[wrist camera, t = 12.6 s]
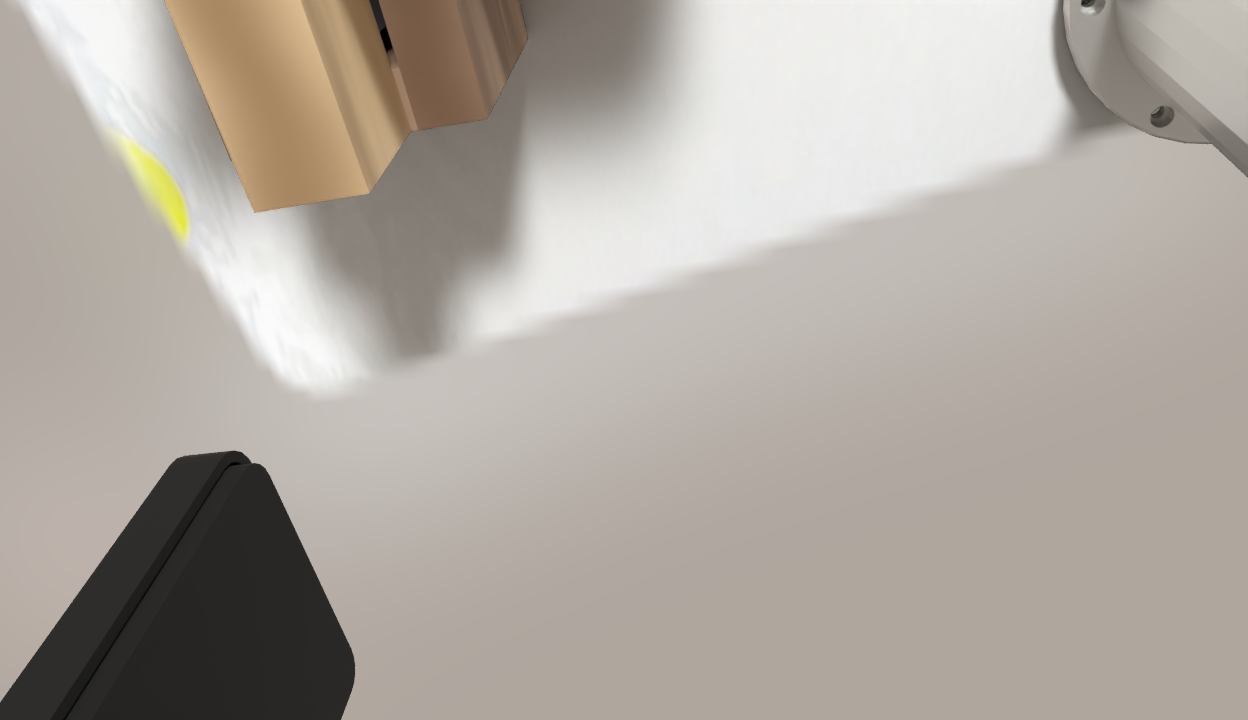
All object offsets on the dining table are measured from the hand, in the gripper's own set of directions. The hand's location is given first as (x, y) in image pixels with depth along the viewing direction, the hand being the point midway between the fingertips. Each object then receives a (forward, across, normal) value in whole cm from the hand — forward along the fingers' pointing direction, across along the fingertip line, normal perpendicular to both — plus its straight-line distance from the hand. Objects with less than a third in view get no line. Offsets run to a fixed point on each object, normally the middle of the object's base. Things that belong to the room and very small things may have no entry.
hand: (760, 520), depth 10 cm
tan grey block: (+30, +13, -2) cm, 33 cm away
